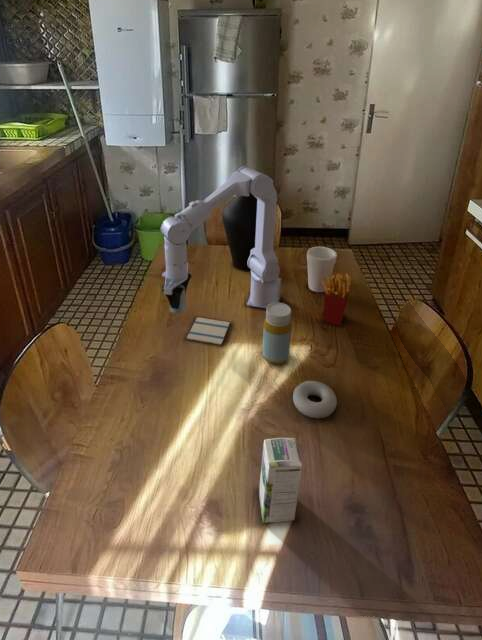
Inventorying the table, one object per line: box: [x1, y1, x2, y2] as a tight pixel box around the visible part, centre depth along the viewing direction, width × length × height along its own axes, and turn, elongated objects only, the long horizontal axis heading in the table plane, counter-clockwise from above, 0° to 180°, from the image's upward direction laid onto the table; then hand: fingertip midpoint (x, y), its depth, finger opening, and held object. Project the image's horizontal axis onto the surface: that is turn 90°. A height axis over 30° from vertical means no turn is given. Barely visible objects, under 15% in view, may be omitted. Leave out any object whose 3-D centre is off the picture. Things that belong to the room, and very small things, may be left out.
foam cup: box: [306, 246, 338, 293], centre depth 144 cm, size 10×9×13 cm
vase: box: [221, 169, 262, 271], centre depth 152 cm, size 17×17×35 cm
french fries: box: [321, 273, 352, 326], centre depth 128 cm, size 9×8×15 cm
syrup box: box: [258, 437, 303, 524], centre depth 76 cm, size 6×6×14 cm
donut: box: [292, 380, 338, 419], centre depth 100 cm, size 10×4×10 cm
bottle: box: [261, 302, 292, 365], centre depth 112 cm, size 7×7×15 cm
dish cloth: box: [186, 316, 231, 346], centre depth 124 cm, size 10×10×1 cm
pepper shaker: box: [169, 284, 187, 315], centre depth 122 cm, size 4×4×8 cm
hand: (178, 302), depth 123 cm, fingers closed on pepper shaker, 4 cm apart
